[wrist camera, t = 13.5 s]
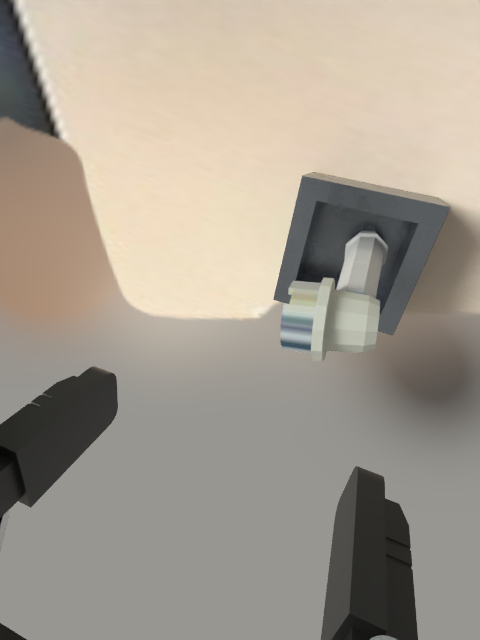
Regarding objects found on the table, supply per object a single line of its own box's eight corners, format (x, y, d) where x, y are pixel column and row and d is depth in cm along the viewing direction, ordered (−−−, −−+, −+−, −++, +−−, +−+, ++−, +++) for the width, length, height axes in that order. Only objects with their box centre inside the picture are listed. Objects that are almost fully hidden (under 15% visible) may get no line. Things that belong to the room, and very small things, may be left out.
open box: (313, 172, 41) (302, 175, 35) (438, 197, 38) (450, 207, 32) (287, 279, 48) (273, 299, 41) (390, 309, 45) (393, 335, 38)
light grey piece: (382, 268, 41) (388, 389, 20) (326, 264, 44) (278, 370, 22) (389, 223, 39) (404, 308, 18) (329, 222, 41) (279, 295, 20)
